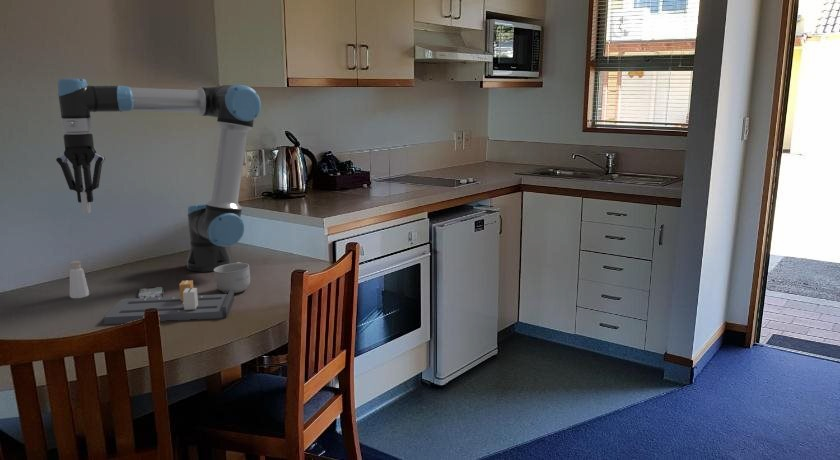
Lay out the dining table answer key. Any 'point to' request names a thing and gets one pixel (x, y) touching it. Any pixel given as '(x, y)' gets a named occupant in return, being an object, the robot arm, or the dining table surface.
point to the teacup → (232, 277)
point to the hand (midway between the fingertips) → (87, 213)
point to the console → (171, 308)
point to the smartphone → (150, 292)
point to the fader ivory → (190, 298)
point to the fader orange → (184, 285)
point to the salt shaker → (78, 281)
